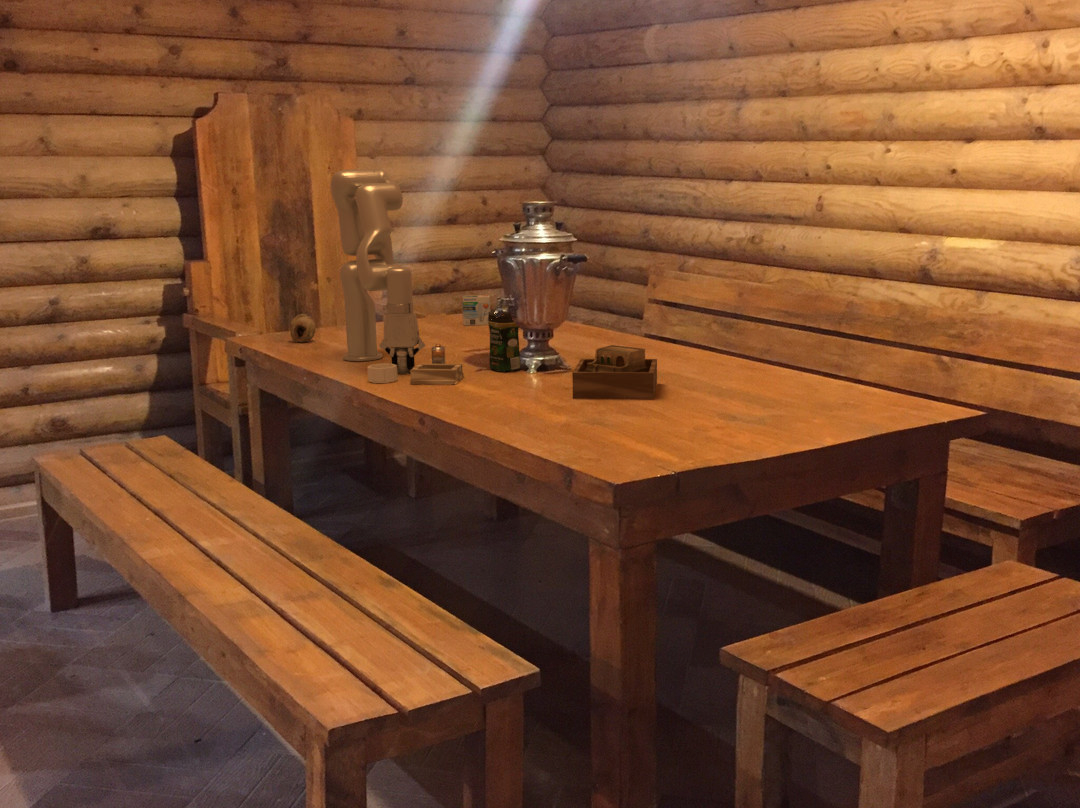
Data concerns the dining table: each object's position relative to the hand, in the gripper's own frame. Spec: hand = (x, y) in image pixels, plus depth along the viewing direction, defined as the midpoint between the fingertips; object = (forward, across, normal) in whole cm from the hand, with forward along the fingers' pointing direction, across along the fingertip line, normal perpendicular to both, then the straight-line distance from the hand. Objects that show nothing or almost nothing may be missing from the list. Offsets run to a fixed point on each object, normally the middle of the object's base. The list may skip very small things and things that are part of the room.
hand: (403, 368), depth 348 cm
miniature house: (+2, +65, -22) cm, 69 cm away
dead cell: (+1, 0, 0) cm, 1 cm away
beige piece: (+1, -3, -12) cm, 12 cm away
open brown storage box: (+1, +66, -23) cm, 70 cm away
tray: (+1, +13, -11) cm, 17 cm away
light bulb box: (+2, +3, +97) cm, 97 cm away
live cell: (+1, +11, 0) cm, 11 cm away
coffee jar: (+1, +30, +6) cm, 31 cm away
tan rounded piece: (+1, -51, +55) cm, 75 cm away
